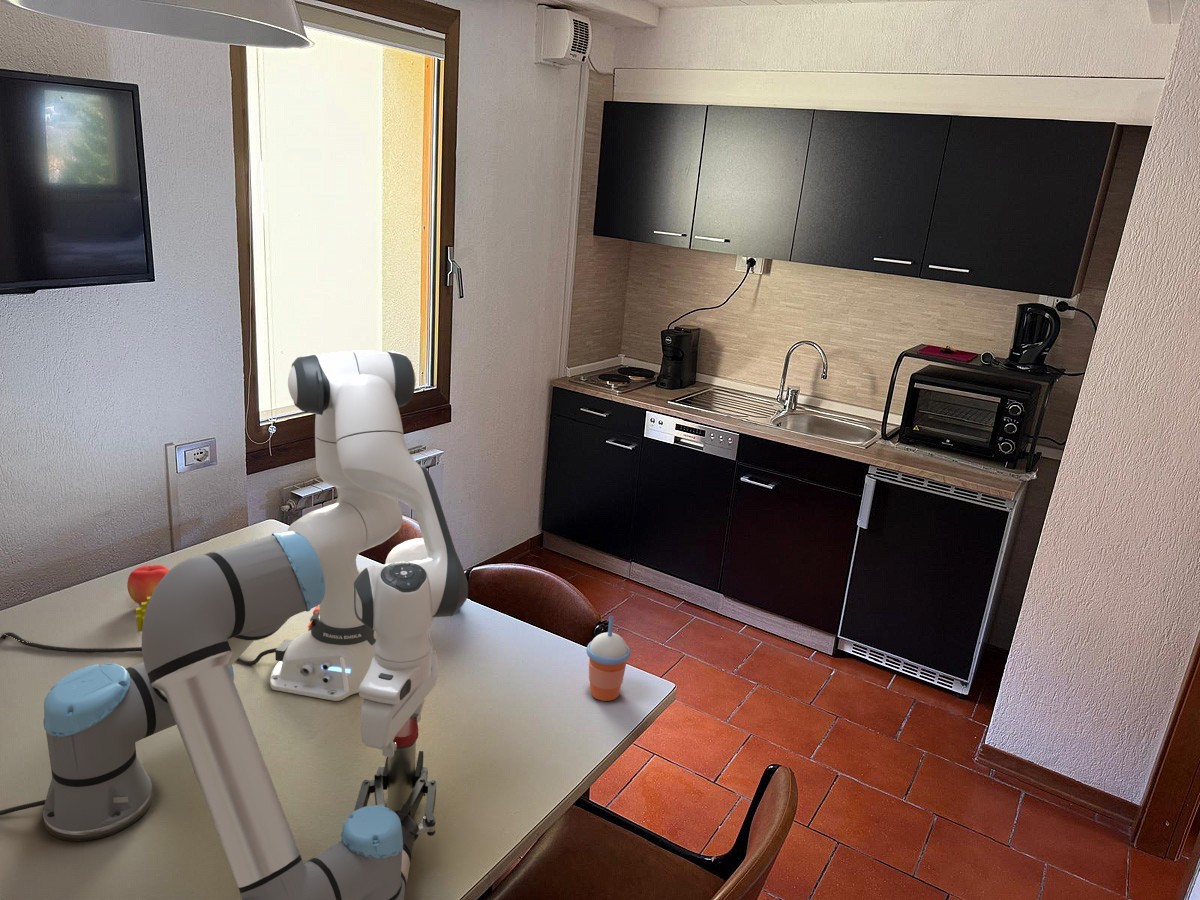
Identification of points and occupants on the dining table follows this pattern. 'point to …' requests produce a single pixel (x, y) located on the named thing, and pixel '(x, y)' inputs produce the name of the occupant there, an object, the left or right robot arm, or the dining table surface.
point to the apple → (145, 581)
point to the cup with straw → (607, 664)
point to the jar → (401, 776)
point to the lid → (407, 734)
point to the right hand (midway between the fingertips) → (402, 738)
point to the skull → (408, 551)
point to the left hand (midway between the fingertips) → (405, 757)
